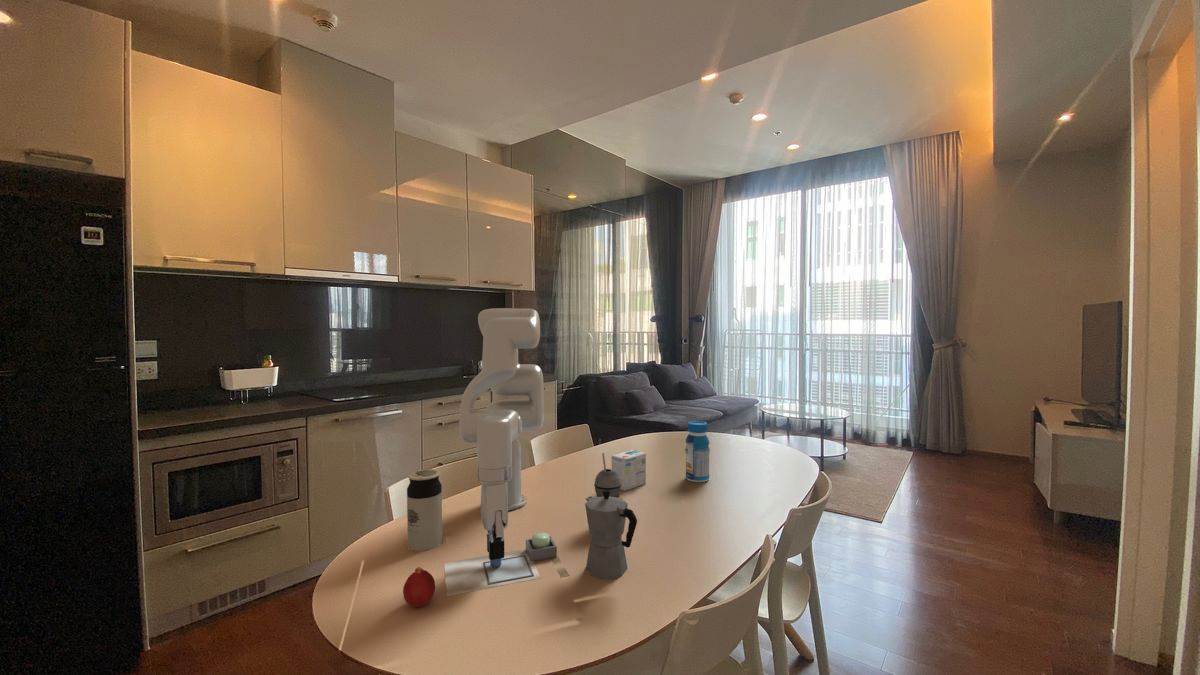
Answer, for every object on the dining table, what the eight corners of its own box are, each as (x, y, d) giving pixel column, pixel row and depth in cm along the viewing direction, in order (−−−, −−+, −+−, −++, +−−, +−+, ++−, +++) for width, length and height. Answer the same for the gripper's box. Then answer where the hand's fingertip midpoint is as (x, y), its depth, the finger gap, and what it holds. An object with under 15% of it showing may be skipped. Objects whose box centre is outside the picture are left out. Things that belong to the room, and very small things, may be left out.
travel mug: (433, 535, 122) (432, 466, 122) (448, 546, 116) (447, 473, 116) (402, 546, 117) (401, 473, 116) (416, 557, 111) (415, 481, 111)
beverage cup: (619, 534, 123) (618, 457, 122) (591, 531, 124) (591, 456, 124) (623, 522, 130) (623, 450, 129) (597, 520, 131) (596, 449, 131)
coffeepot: (571, 567, 106) (570, 487, 105) (601, 553, 112) (601, 478, 112) (620, 595, 95) (620, 506, 94) (651, 578, 101) (650, 495, 101)
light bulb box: (632, 479, 167) (632, 449, 167) (646, 484, 162) (646, 452, 162) (610, 486, 160) (610, 454, 159) (625, 491, 155) (624, 458, 154)
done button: (530, 544, 112) (530, 534, 112) (547, 541, 113) (547, 531, 113) (534, 551, 108) (534, 541, 108) (551, 548, 110) (551, 538, 110)
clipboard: (439, 564, 107) (439, 561, 107) (550, 545, 116) (550, 542, 116) (441, 603, 92) (441, 598, 92) (569, 578, 101) (569, 574, 101)
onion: (409, 599, 94) (408, 559, 93) (438, 598, 94) (438, 558, 94) (399, 617, 88) (398, 575, 88) (430, 616, 88) (430, 573, 88)
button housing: (525, 550, 113) (525, 539, 113) (550, 546, 115) (550, 535, 115) (531, 562, 107) (531, 550, 107) (556, 557, 109) (556, 546, 109)
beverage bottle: (704, 484, 161) (704, 426, 160) (681, 480, 165) (681, 423, 165) (713, 477, 168) (713, 421, 167) (690, 473, 172) (690, 419, 172)
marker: (487, 562, 106) (487, 518, 106) (501, 559, 107) (501, 516, 107) (489, 569, 103) (489, 523, 103) (503, 566, 104) (503, 521, 104)
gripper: (473, 464, 111) (474, 541, 111) (481, 486, 96) (482, 576, 96) (506, 461, 113) (506, 536, 114) (518, 481, 98) (519, 569, 99)
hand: (495, 554), depth 105 cm, fingers closed on marker, 3 cm apart
